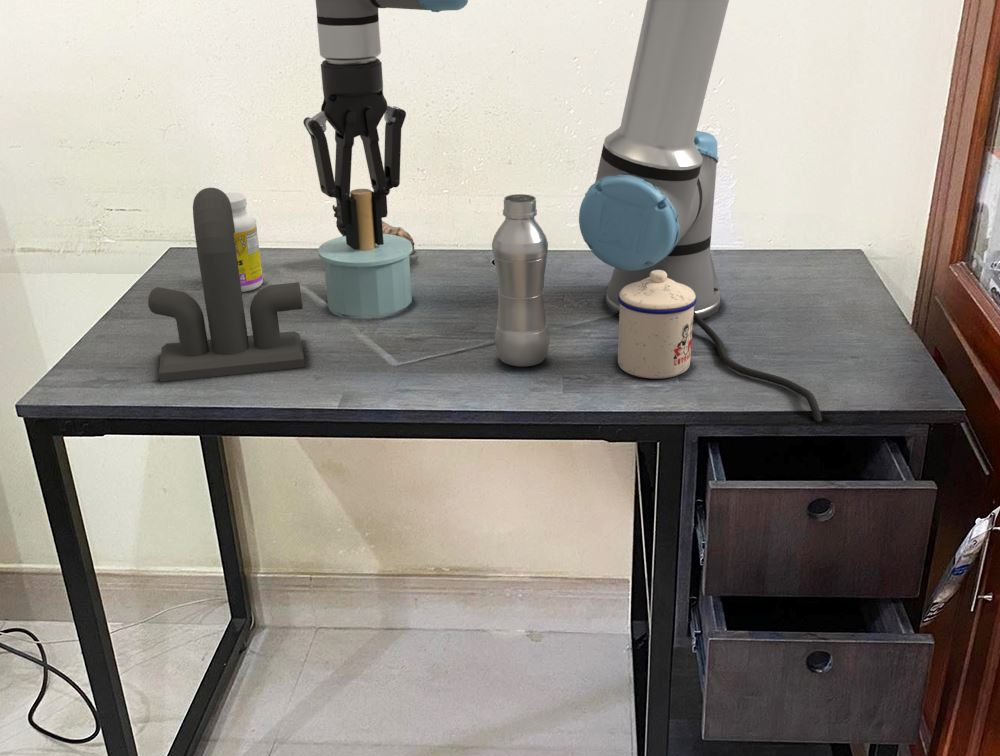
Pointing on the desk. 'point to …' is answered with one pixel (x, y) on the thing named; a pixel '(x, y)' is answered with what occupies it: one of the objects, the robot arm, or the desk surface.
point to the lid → (365, 240)
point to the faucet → (225, 309)
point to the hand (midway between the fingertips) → (365, 243)
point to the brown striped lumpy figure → (386, 230)
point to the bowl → (368, 288)
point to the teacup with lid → (655, 327)
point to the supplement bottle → (246, 243)
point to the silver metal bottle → (520, 284)
